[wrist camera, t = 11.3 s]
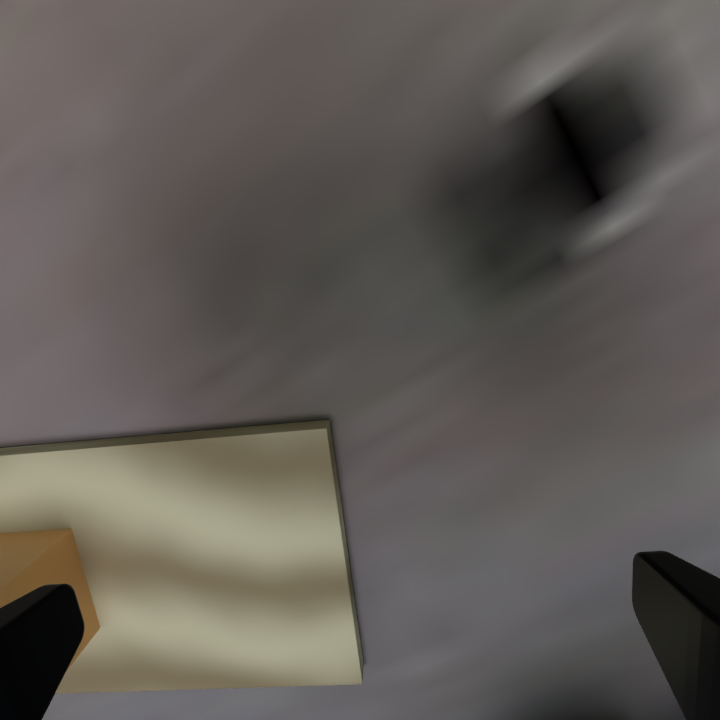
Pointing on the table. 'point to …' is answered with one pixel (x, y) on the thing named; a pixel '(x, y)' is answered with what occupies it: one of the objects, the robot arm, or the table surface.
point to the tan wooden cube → (45, 570)
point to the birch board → (199, 555)
